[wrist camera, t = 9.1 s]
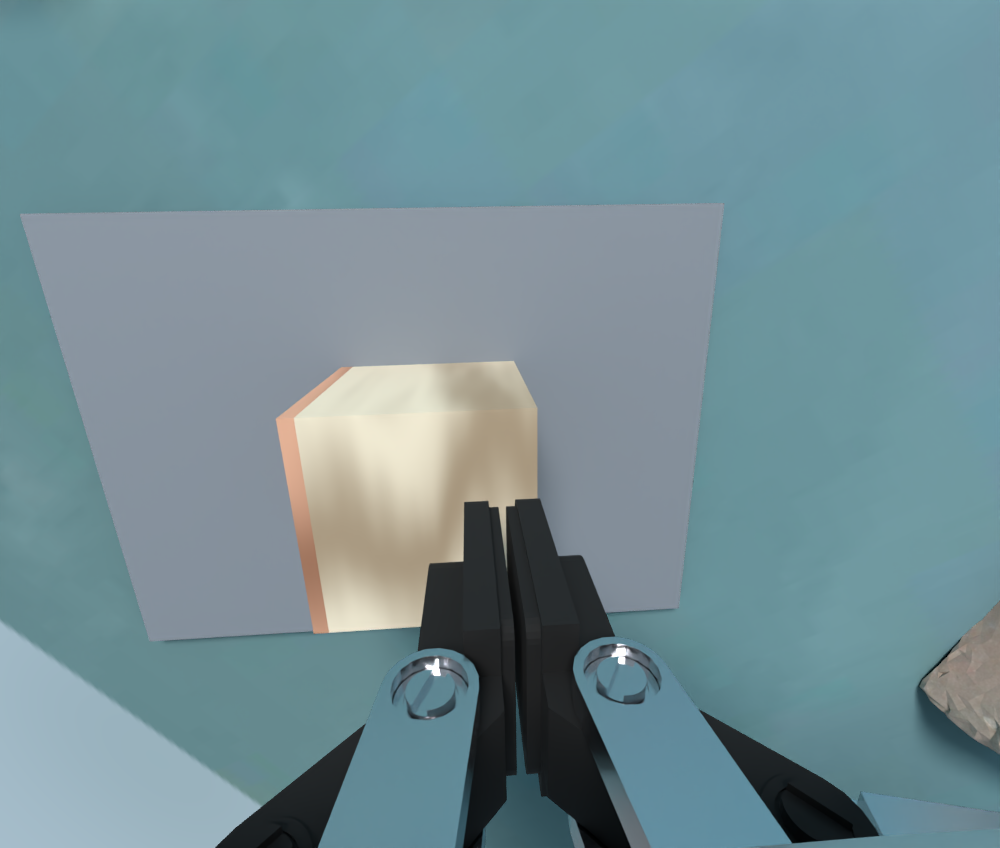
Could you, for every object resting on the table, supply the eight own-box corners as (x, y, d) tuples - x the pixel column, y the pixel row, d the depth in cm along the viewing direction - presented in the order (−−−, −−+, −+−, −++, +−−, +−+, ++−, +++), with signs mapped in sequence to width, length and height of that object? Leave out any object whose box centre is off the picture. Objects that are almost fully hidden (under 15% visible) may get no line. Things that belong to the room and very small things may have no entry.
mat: (36, 215, 15) (19, 214, 15) (715, 205, 16) (724, 202, 16) (158, 630, 20) (149, 641, 20) (672, 598, 21) (678, 608, 21)
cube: (513, 360, 17) (341, 367, 17) (537, 407, 11) (275, 418, 11) (516, 512, 19) (360, 521, 19) (537, 618, 13) (313, 633, 13)
